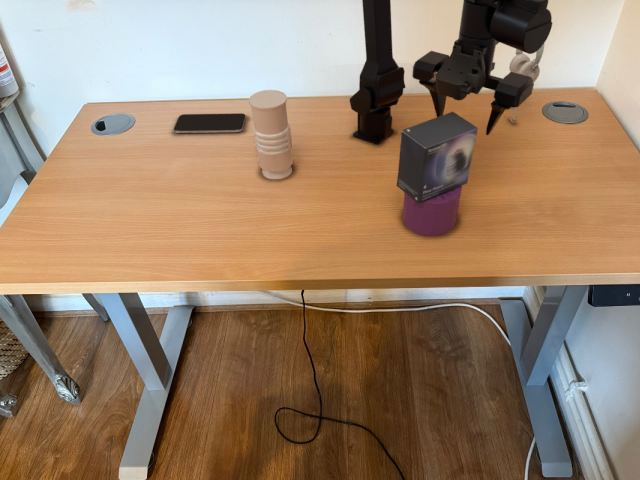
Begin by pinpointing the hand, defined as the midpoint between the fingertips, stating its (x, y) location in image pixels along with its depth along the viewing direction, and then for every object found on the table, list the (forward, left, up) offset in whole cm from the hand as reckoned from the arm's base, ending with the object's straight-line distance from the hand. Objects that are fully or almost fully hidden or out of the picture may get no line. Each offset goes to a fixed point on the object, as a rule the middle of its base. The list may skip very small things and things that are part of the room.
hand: (463, 126), depth 92 cm
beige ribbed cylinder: (-31, -16, -12) cm, 37 cm away
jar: (+1, -12, -12) cm, 17 cm away
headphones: (-1, +27, -12) cm, 30 cm away
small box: (+1, -12, -5) cm, 13 cm away
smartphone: (-55, -11, -12) cm, 57 cm away
